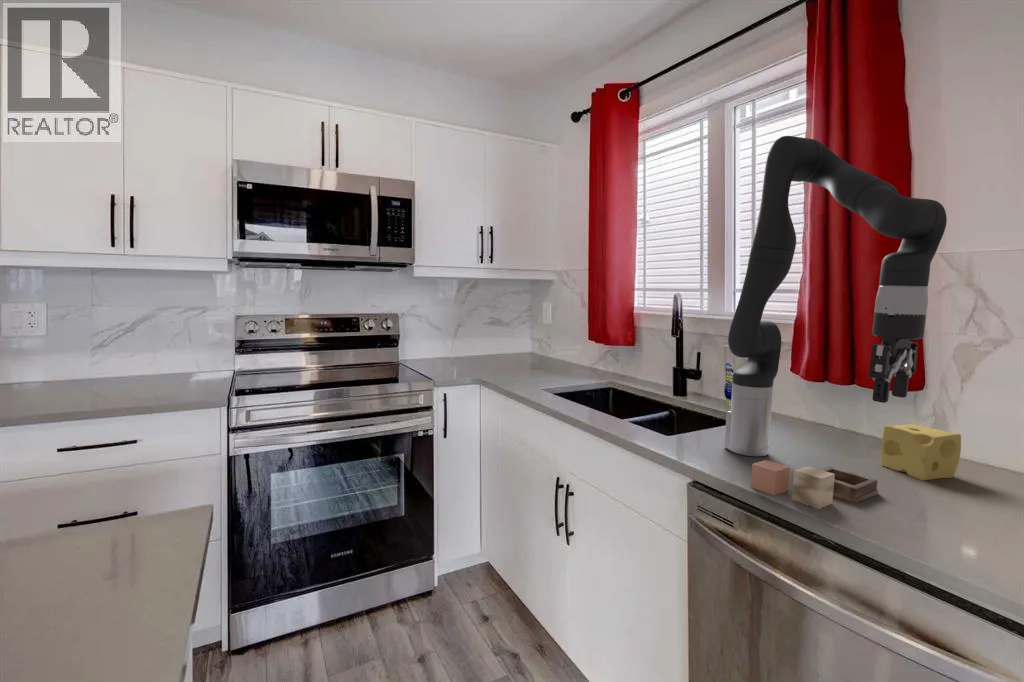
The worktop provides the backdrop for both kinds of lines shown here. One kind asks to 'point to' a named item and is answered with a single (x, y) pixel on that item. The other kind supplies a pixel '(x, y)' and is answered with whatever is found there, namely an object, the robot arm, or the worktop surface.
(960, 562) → the worktop surface
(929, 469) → the cheese
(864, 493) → the socket board
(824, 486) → the base block
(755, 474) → the top block
